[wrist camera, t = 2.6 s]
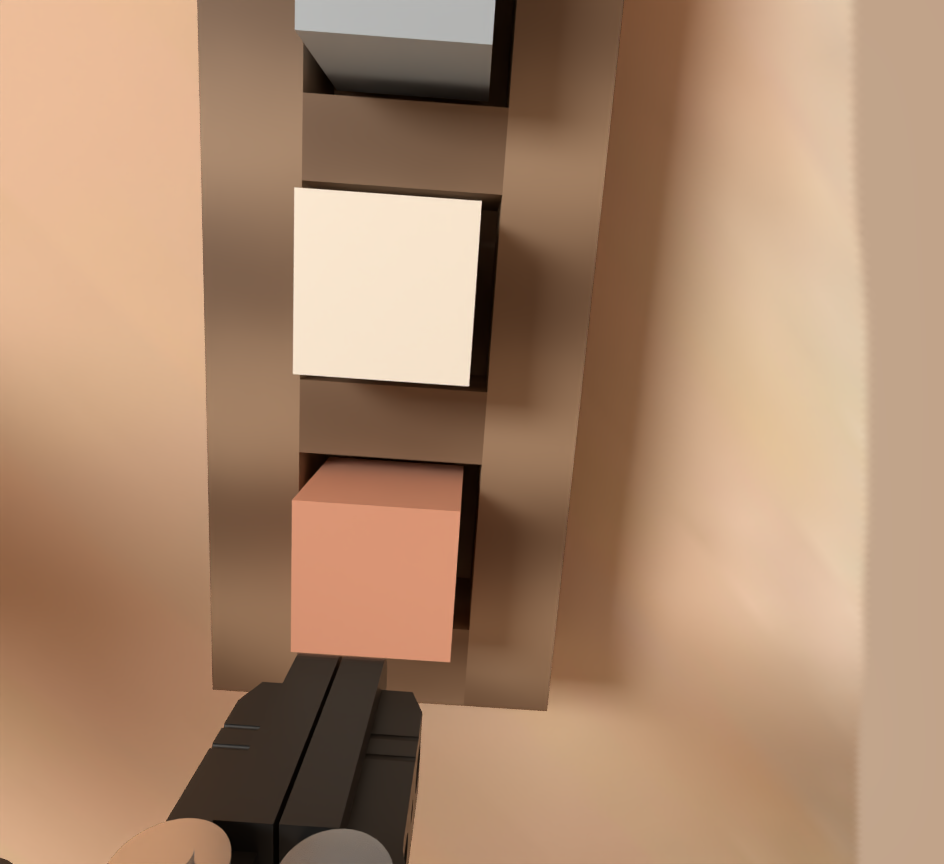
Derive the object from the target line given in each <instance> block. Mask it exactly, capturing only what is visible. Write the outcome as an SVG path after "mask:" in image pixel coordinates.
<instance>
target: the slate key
mask: <svg viewBox="0 0 944 864" xmlns="http://www.w3.org/2000/svg"><path fill="white" fill-rule="evenodd" d="M494 14H495V0H295V31H296V32H297V34H298V35H299V37H300V38H301V40H302V41H303V42H304V44H305V45H306V47H307V48H308V50H309V51H310V52H311V54H312V55H313V57H314V58H315V60H316V61H317V63H318V64H319V65H320V67H321V68H322V70H323V71H324V73H325V74H326V75H327V77H328V78H329V80H330V81H331V83H332V84H333V86H334V87H335V88H336V90H337V91H350V92H364V93H377V94H391V95H404V96H418V97H431V98H445V99H458V100H472V101H485V102H488V101H489V86H490V72H491V57H492V43H493V28H494Z"/></svg>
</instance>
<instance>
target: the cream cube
mask: <svg viewBox="0 0 944 864" xmlns="http://www.w3.org/2000/svg"><path fill="white" fill-rule="evenodd" d="M481 206H482V201H475V200H461V199H447V198H434V197H420V196H406V195H392V194H378V193H365V192H351V191H337V190H323V189H310V188H296V187H294V295H293V374H299V375H313V376H327V377H342V378H356V379H370V380H385V381H399V382H413V383H428V384H442V385H456V386H469V379H470V365H471V350H472V336H473V321H474V307H475V293H476V278H477V264H478V249H479V235H480V220H481Z"/></svg>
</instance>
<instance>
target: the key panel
mask: <svg viewBox="0 0 944 864" xmlns="http://www.w3.org/2000/svg"><path fill="white" fill-rule="evenodd" d="M623 4H624V0H495V14H494V28H493V43H492V57H491V72H490V86H489V101H488V102H485V101H472V100H458V99H445V98H431V97H418V96H404V95H391V94H377V93H364V92H350V91H337V90H336V88H335V87H334V86H333V84H332V83H331V81H330V80H329V78H328V77H327V75H326V74H325V73H324V71H323V70H322V68H321V67H320V65H319V64H318V63H317V61H316V60H315V58H314V57H313V55H312V54H311V52H310V51H309V50H308V48H307V47H306V45H305V44H304V42H303V41H302V40H301V38H300V37H299V35H298V34H297V32H296V31H295V0H197V7H198V51H199V96H200V141H201V185H202V230H203V275H204V319H205V364H206V409H207V453H208V498H209V543H210V587H211V632H212V677H213V690H229V691H244V692H250V691H251V690H252V689H254V688H255V687H256V686H258V685H259V684H260V683H261V682H273V683H283V681H284V679H285V677H286V675H287V673H288V671H289V669H290V668H291V666H292V664H293V662H294V660H295V658H296V656H297V655H298V654H299V652H291V552H292V499H293V498H294V497H295V496H296V495H297V494H298V493H299V491H300V490H301V489H302V488H303V487H304V486H305V485H306V483H307V482H308V481H309V480H310V479H311V478H312V477H313V475H314V474H315V473H316V472H317V471H318V470H319V469H320V467H321V466H322V465H323V464H324V463H325V462H326V461H327V459H328V458H329V457H340V458H355V459H369V460H384V461H399V462H413V463H428V464H443V465H457V466H464V468H463V483H462V498H461V513H460V527H459V542H458V556H457V570H456V585H455V599H454V614H453V628H452V643H451V657H450V662H437V661H422V660H407V659H391V658H379V659H386V660H387V686H386V690H391V691H406V692H413V694H414V696H415V698H416V700H417V703H430V704H445V705H461V706H476V707H492V708H507V709H523V710H538V711H547V705H548V696H549V687H550V678H551V668H552V659H553V650H554V641H555V632H556V622H557V613H558V604H559V595H560V585H561V576H562V567H563V558H564V548H565V539H566V530H567V521H568V512H569V502H570V493H571V484H572V475H573V465H574V456H575V447H576V438H577V428H578V419H579V410H580V401H581V392H582V382H583V373H584V364H585V355H586V345H587V336H588V327H589V318H590V308H591V299H592V290H593V281H594V272H595V262H596V253H597V244H598V235H599V225H600V216H601V207H602V198H603V188H604V179H605V170H606V161H607V152H608V142H609V133H610V124H611V115H612V105H613V96H614V87H615V78H616V68H617V59H618V50H619V41H620V32H621V22H622V13H623ZM294 187H296V188H310V189H323V190H337V191H351V192H365V193H378V194H392V195H406V196H420V197H434V198H447V199H461V200H475V201H482V206H481V220H480V235H479V249H478V264H477V278H476V293H475V307H474V321H473V336H472V350H471V365H470V379H469V386H456V385H442V384H428V383H413V382H399V381H385V380H370V379H356V378H342V377H327V376H313V375H299V374H293V295H294ZM304 654H315V653H304ZM319 655H330V654H319ZM333 656H342V658H343V657H344V656H345V655H333ZM350 657H361V656H350ZM365 658H376V657H365Z"/></svg>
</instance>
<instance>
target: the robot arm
mask: <svg viewBox="0 0 944 864" xmlns="http://www.w3.org/2000/svg"><path fill="white" fill-rule="evenodd" d="M386 686H387V660H386V659H379V658H365V657H350V656H344V657H343V658H342V656H333V655H319V654H304V653H299V654H298V655H297V656H296V658H295V660H294V662H293V664H292V666H291V668H290V669H289V671H288V673H287V675H286V677H285V679H284V681H283V683H273V682H261V683H260V684H259V685H258V686H256V687H255V688H254V689H252V690H251V691H250V692H249V693H247V694H246V695H245V696H243V697H242V698H241V699H240V700H238V702H237V703H236V705H235V707H234V708H233V710H232V712H231V714H230V715H229V717H228V719H227V720H226V722H225V724H224V728H222V729H221V730H220V732H219V734H218V735H217V737H216V739H215V740H214V742H213V746H212V748H210V749H209V750H208V752H207V754H206V755H205V757H204V759H203V760H202V762H201V764H200V765H199V767H198V769H197V770H196V772H195V774H194V775H193V777H192V779H191V780H190V782H189V784H188V785H187V787H186V789H185V790H184V792H183V794H182V795H181V797H180V799H179V800H178V802H177V804H176V805H175V807H174V809H173V810H172V812H171V814H170V815H169V817H168V819H167V820H166V822H163V823H160V824H157V825H155V826H153V827H150V828H148V829H146V830H144V831H143V832H141V833H139V834H137V835H136V836H135V837H133V838H132V839H130V840H129V841H128V842H126V843H125V844H124V845H123V846H122V847H121V848H120V849H119V850H118V851H117V852H116V853H115V854H114V856H113V857H112V858H111V859H110V861H109V862H108V863H107V864H408V863H409V855H410V847H411V840H412V832H413V825H414V817H415V809H416V802H417V794H418V780H419V762H420V744H421V726H422V711H421V709H420V707H419V705H418V703H417V700H416V698H415V696H414V694H413V692H406V691H391V690H386ZM0 864H12V863H11V862H9V861H8V860H5V859H2V858H0Z"/></svg>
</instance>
